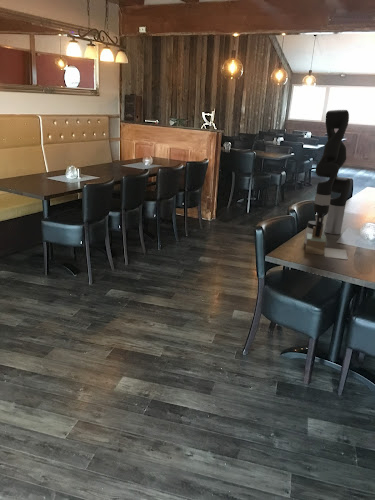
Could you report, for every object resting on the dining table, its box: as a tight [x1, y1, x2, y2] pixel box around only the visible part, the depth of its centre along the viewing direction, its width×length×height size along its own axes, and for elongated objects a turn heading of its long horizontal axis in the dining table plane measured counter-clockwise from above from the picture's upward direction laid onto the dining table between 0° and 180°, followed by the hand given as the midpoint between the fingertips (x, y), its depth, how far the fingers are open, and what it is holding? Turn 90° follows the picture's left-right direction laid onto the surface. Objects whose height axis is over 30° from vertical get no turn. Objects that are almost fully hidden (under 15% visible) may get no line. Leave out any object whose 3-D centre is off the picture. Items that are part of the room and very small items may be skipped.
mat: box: [324, 247, 348, 261], centre depth 212 cm, size 15×11×1 cm
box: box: [304, 240, 327, 256], centre depth 214 cm, size 9×9×7 cm
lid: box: [307, 227, 327, 243], centre depth 212 cm, size 9×9×7 cm
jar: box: [303, 220, 324, 245], centre depth 225 cm, size 9×8×12 cm
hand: (317, 234), depth 212 cm, fingers open, 7 cm apart
